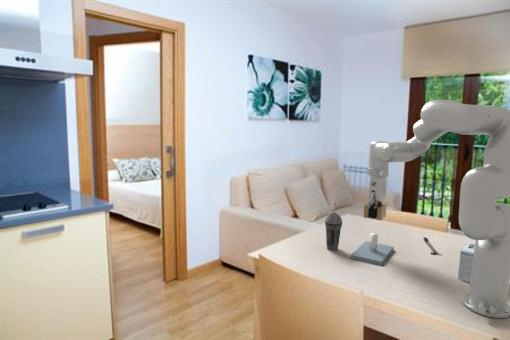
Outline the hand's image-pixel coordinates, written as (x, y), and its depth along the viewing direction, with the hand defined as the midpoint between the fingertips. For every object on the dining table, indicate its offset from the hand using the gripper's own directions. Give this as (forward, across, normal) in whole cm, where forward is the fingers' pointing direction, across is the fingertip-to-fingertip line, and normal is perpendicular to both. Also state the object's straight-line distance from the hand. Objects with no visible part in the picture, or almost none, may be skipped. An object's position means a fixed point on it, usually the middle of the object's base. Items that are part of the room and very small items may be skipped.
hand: (374, 215), depth 147 cm
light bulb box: (+16, -2, -35) cm, 39 cm away
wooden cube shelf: (+1, 0, 0) cm, 1 cm away
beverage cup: (+17, -4, +16) cm, 23 cm away
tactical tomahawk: (+17, +25, -20) cm, 36 cm away
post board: (+16, 0, 0) cm, 16 cm away
